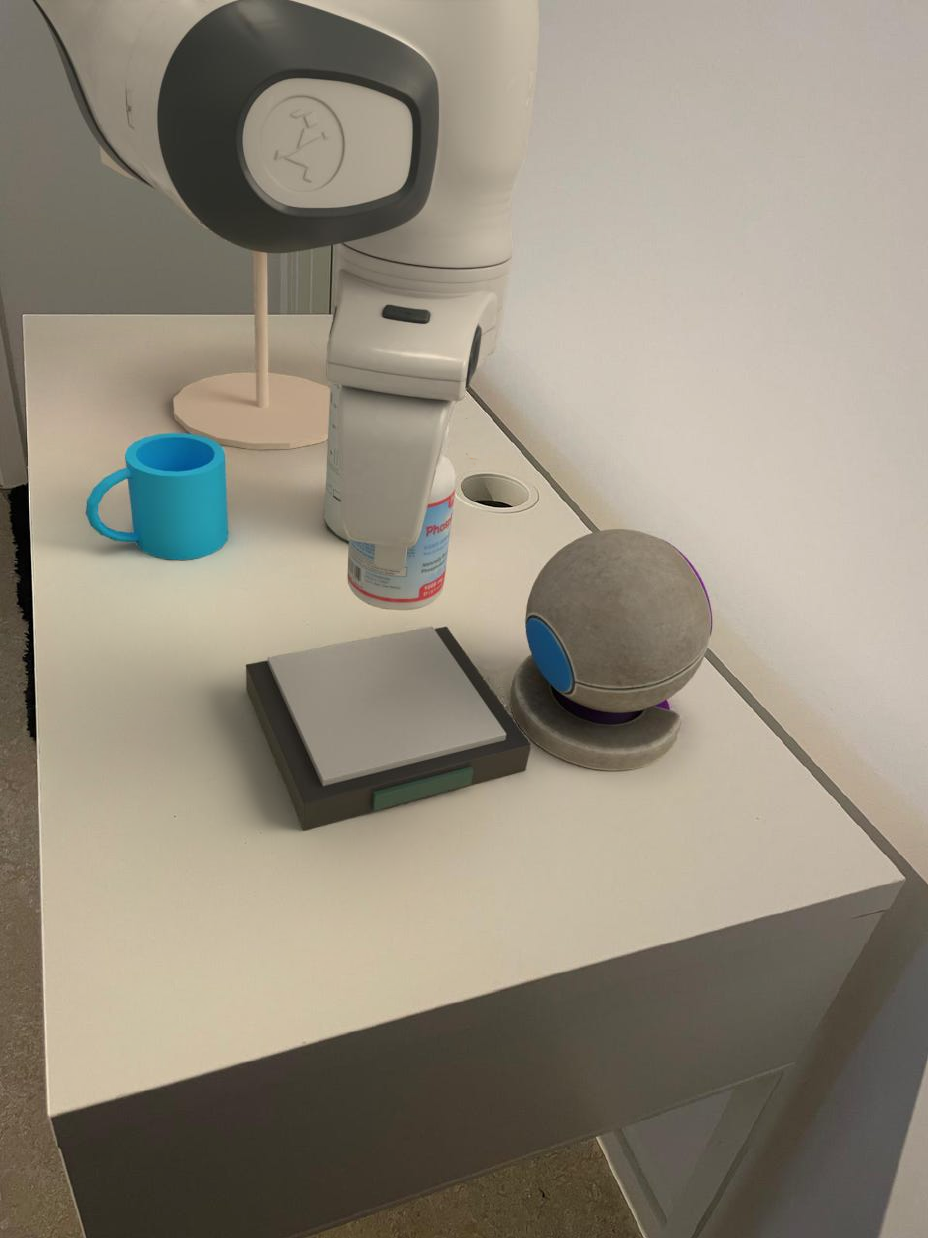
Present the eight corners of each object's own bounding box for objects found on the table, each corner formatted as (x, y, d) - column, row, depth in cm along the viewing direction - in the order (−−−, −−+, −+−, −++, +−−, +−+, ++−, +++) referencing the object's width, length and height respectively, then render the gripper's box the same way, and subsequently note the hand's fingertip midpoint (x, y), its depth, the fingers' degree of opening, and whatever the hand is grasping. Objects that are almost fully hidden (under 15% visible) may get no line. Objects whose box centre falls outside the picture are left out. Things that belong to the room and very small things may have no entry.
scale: (305, 835, 56) (306, 801, 54) (246, 690, 66) (245, 657, 64) (528, 774, 63) (535, 742, 61) (443, 650, 73) (447, 620, 71)
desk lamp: (105, 371, 109) (69, 70, 90) (337, 356, 121) (346, 90, 103) (159, 486, 88) (126, 128, 70) (431, 454, 101) (464, 144, 83)
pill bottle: (441, 619, 55) (462, 451, 48) (341, 609, 55) (348, 438, 48) (444, 565, 60) (464, 406, 53) (352, 556, 59) (361, 394, 53)
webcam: (710, 742, 68) (774, 576, 59) (572, 793, 62) (620, 617, 53) (607, 642, 76) (649, 485, 67) (477, 678, 70) (505, 511, 62)
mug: (208, 505, 86) (203, 427, 82) (242, 548, 81) (240, 466, 76) (78, 531, 80) (65, 447, 75) (106, 578, 75) (94, 492, 70)
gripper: (388, 243, 55) (375, 449, 63) (317, 361, 38) (312, 620, 47) (491, 258, 55) (464, 462, 63) (464, 382, 38) (432, 637, 47)
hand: (399, 531), depth 55 cm, fingers closed on pill bottle, 6 cm apart
